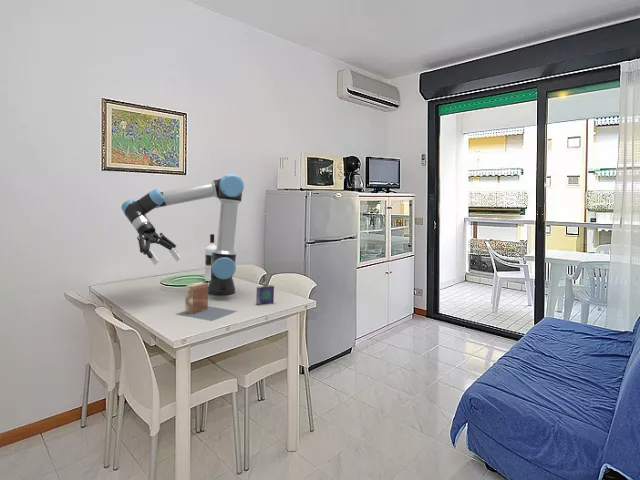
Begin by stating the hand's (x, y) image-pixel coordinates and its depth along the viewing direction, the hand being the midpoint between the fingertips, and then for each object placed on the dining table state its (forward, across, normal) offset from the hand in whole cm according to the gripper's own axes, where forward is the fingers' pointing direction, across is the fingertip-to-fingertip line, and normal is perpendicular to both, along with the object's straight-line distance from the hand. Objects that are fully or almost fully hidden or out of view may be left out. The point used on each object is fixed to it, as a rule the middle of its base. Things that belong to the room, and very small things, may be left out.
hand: (168, 261), depth 184 cm
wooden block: (+27, 0, -3) cm, 27 cm away
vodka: (-1, -60, -32) cm, 68 cm away
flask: (+41, -29, +10) cm, 51 cm away
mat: (+32, 0, +1) cm, 32 cm away
